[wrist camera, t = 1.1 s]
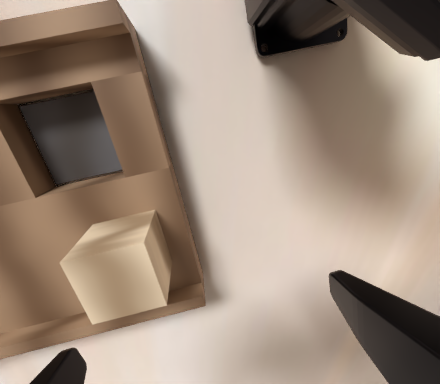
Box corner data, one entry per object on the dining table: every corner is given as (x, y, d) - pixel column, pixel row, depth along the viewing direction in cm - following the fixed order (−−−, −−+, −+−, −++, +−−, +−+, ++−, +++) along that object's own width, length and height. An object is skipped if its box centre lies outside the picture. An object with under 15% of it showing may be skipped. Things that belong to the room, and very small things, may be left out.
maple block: (155, 209, 17) (143, 242, 12) (172, 260, 18) (166, 305, 14) (92, 224, 16) (59, 263, 12) (115, 274, 18) (92, 324, 14)
